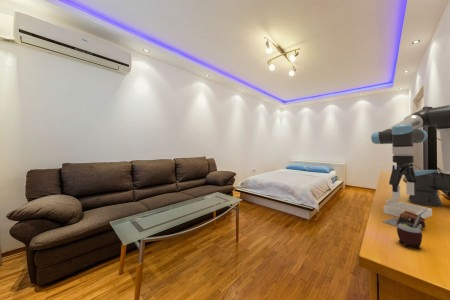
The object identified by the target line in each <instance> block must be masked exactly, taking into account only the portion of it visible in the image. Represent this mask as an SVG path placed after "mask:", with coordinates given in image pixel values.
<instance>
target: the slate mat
mask: <svg viewBox="0 0 450 300" xmlns="http://www.w3.org/2000/svg"><path fill="white" fill-rule="evenodd" d="M397 220H399V217H398V218H397V217H393V218H392V217H391V218H388V219H385V220H382V223H383V224H387V225H391V226H394V227H396V228H397V227H398V224H396V223H397ZM418 227H419V229H420V230H421V229H423V228H422V225H421V224H419V226H418ZM425 228H427V226H426V225H425Z"/></svg>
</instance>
